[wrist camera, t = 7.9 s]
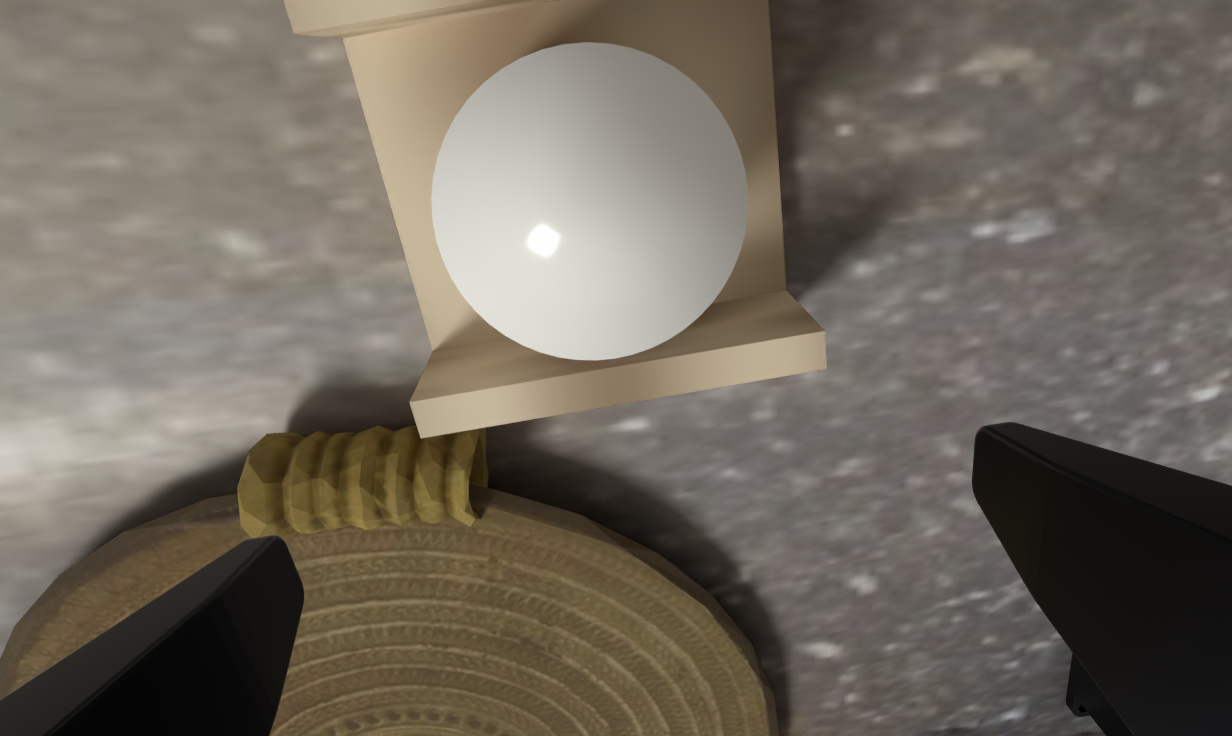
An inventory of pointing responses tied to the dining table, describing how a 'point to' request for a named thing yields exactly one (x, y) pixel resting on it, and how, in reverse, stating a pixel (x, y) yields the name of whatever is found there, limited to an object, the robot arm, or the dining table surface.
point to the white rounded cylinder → (589, 201)
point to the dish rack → (414, 132)
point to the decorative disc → (433, 601)
